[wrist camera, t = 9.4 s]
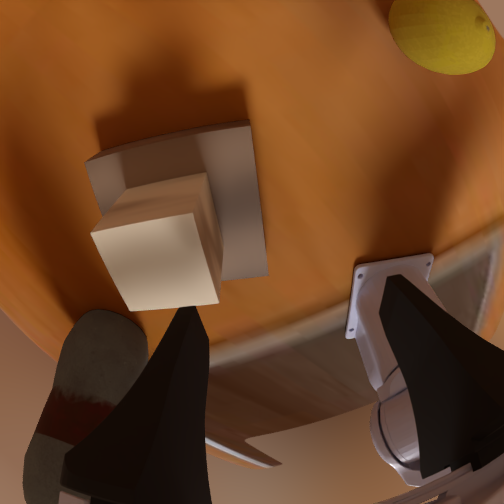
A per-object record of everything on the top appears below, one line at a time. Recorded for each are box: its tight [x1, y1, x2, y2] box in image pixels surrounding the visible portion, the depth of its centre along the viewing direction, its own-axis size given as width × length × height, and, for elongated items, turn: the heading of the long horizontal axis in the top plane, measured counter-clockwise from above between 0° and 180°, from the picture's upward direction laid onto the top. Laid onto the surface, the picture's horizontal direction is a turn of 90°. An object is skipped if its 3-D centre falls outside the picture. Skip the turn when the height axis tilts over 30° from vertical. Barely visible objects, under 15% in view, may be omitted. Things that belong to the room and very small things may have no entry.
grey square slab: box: [84, 120, 269, 281], centre depth 18 cm, size 10×10×3 cm
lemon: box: [388, 0, 496, 75], centre depth 9 cm, size 6×6×8 cm
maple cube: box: [91, 172, 224, 311], centre depth 15 cm, size 5×5×5 cm
